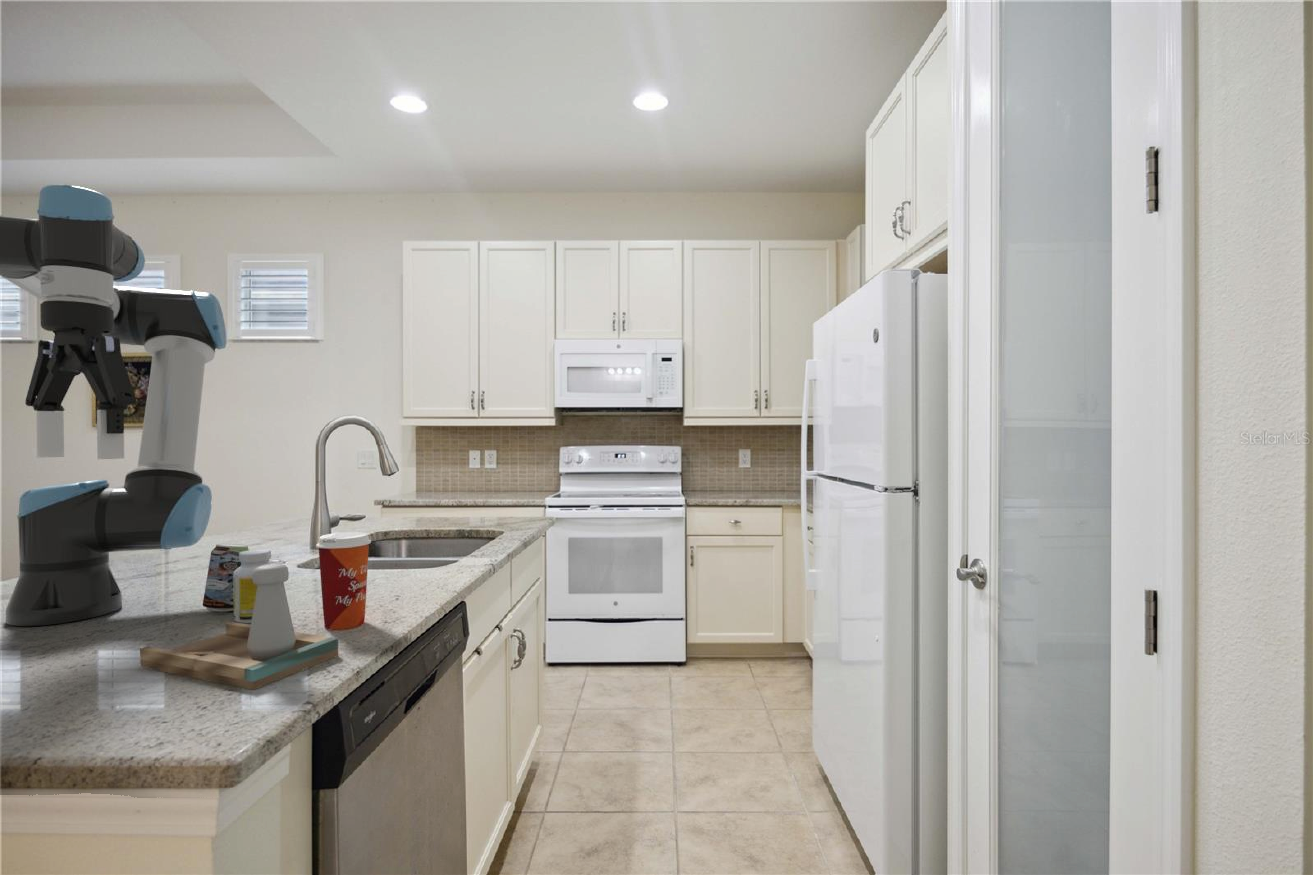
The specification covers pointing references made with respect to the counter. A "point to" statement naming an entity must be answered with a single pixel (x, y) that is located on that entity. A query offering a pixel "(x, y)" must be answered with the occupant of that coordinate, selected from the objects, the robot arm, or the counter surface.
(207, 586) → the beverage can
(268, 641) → the salt shaker
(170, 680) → the counter surface
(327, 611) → the coffee cup
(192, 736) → the counter surface
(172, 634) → the counter surface
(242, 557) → the pill bottle
